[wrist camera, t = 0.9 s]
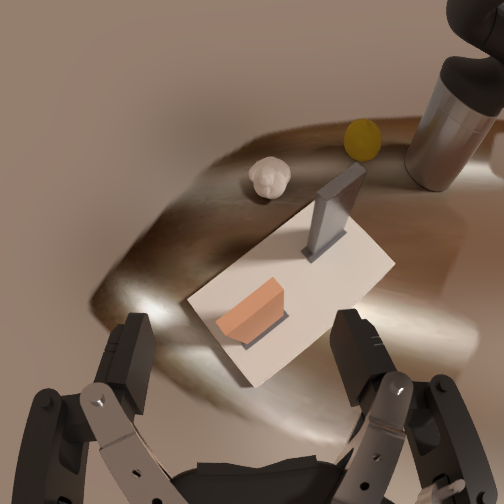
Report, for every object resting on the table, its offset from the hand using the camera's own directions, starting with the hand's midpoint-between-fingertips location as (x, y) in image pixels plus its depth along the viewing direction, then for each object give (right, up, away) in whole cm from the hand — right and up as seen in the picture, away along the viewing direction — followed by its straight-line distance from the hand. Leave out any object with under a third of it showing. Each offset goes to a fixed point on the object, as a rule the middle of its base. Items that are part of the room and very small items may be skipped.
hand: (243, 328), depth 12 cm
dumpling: (+3, +13, +28) cm, 31 cm away
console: (+6, -1, +23) cm, 23 cm away
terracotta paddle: (+2, -5, +19) cm, 20 cm away
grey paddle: (+9, +4, +22) cm, 24 cm away
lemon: (+17, +18, +29) cm, 38 cm away
